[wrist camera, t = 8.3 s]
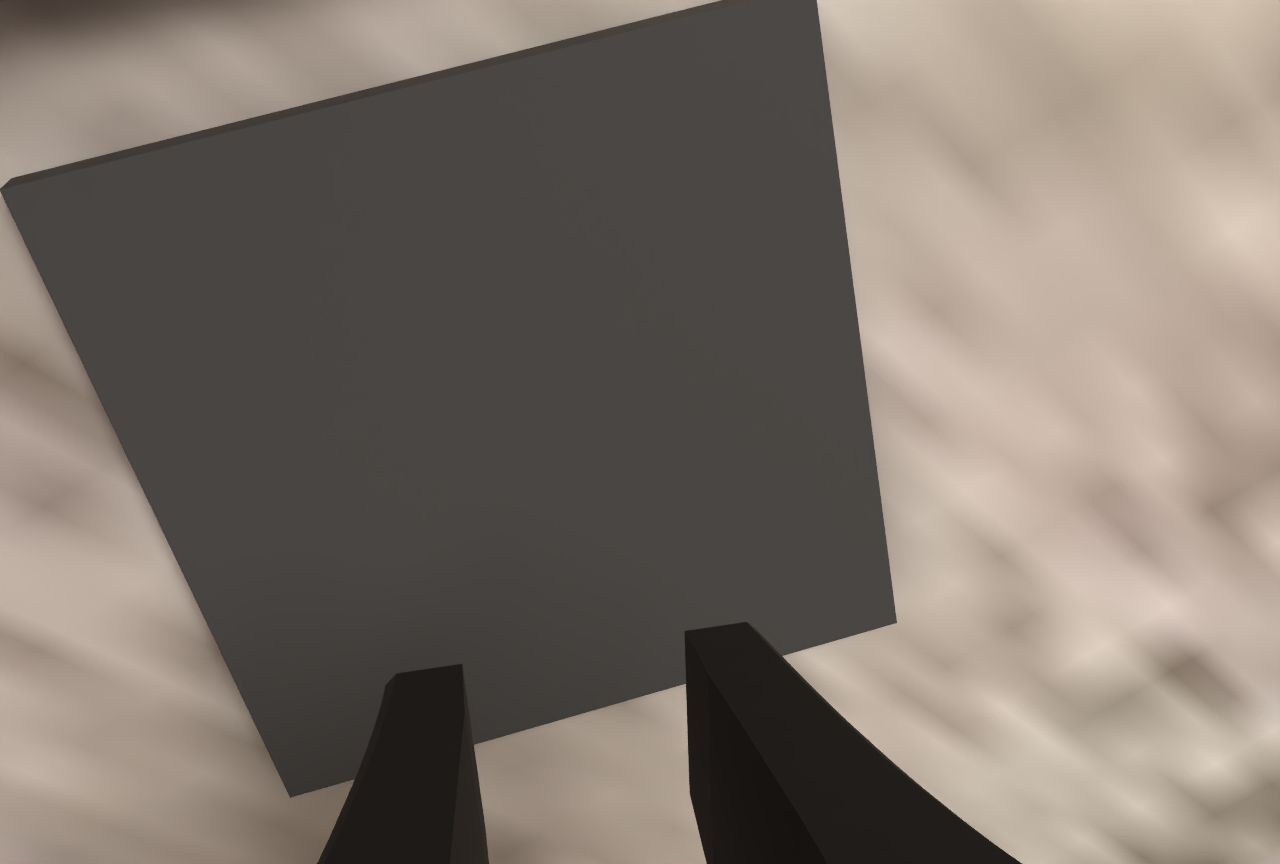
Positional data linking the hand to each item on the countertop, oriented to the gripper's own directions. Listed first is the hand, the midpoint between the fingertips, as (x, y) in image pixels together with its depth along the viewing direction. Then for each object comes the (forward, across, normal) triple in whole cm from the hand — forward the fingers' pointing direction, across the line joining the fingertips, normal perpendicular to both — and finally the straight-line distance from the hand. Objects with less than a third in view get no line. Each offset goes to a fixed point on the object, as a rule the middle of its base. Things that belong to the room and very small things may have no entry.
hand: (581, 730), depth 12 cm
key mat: (+7, 0, 0) cm, 7 cm away
